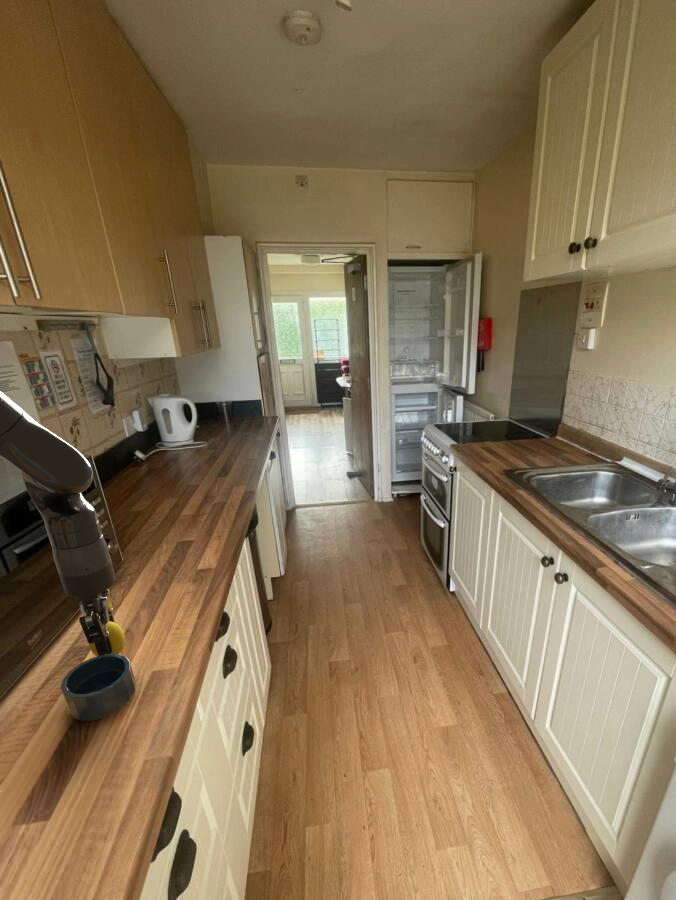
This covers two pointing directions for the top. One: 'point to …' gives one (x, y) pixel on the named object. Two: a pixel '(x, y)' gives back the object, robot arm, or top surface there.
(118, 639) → the lemon
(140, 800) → the top surface
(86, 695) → the bowl
